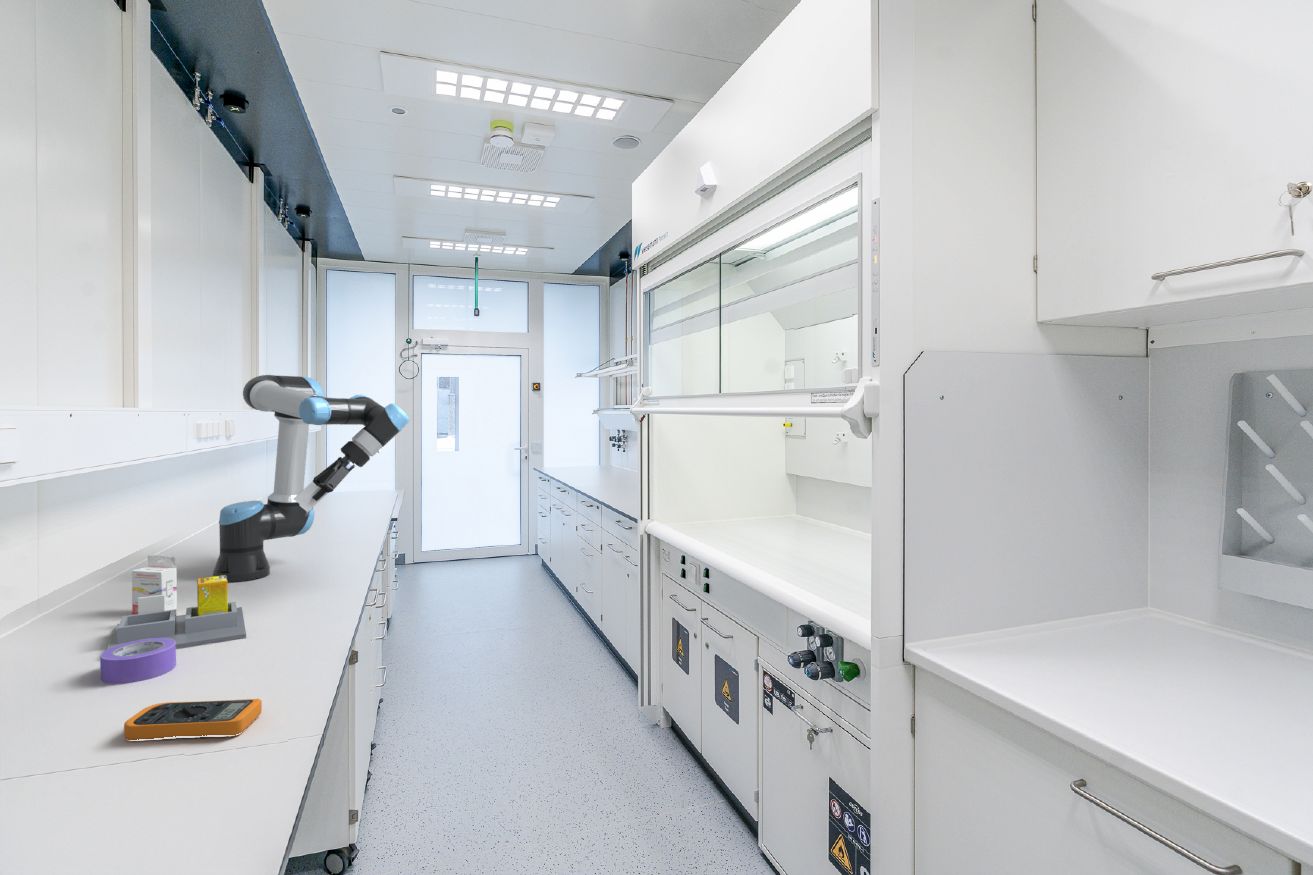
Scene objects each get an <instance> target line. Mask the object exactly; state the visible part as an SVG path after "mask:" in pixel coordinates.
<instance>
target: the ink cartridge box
mask: <svg viewBox="0 0 1313 875" xmlns="http://www.w3.org/2000/svg"><path fill="white" fill-rule="evenodd" d="M160 560H163V561H161V562H160ZM176 560H177V558H176V557H175V556H173V555H172V556H171V555H156V554H155V555H152V554H148V555H147V563H148V564H147V565H148V566H144V567H141V568H136V569H131V576H132V577H131V578H132V581H131V588H132V589H131V591H132V592H131V597H132V598H131V599H132V602H131V603H132V604H131V606H132V607H131V610H132V612H131V615H136V614H138V598H139V597H148V596H156V595H165V611H167V610H174V609H176V612H178V583H177V582H178V580H177V578H178V577H177V576H178V573H177V571H178V568H177V563H176V562H177V561H176Z"/></svg>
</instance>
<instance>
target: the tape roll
mask: <svg viewBox="0 0 1313 875" xmlns="http://www.w3.org/2000/svg"><path fill="white" fill-rule="evenodd" d="M176 651H177V649H176V642H175V640H173V639H169V638H151V639H143V640H137V641H132V642H128V643H124V644H120V645H117V646H114V647H112V648H109V649H105V650H104V651H103V652H101V654H100V655H99V661H100V662H99V664H100V665H99V666H100V681H101V682H102V683H105V684H110V685H120V684H121V685H123V684H132V683H139V682H144V681H148V680H152V679H155V678H158V677H161V676H163V675H166V674H167V673H170V672H172V670H174V669H175V668H176V667H175V666H177V652H176Z"/></svg>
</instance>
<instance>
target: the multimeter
mask: <svg viewBox="0 0 1313 875" xmlns="http://www.w3.org/2000/svg"><path fill="white" fill-rule="evenodd" d="M262 706H263V704H262V699H261V698H246V699H230V700H227V699H226V700H202V701H172V702H171V701H169V702H168V701H167V702H159V703H155V704H152V705H149V706H146V707H144V708H143V709H141V710H140V711H139V712H137V713H136V714H134V715H132V716H131V717H130V718H128V719H127V720H126V721H125V722H124V725H123V728H124V729H123V734H124V738H125V739H126V740H127V739H128V740H137V739H138V740H139V739H154V738H164V737H173V736H175V737H176V736H202V735H203V736H205V735H206V736H207V735H236V734H239V733H241V732H242V733H243V731H244V730H245V729H246V728H247V727H248V726H249V725H250V724H251V723H252V722H253V721H254V720H255V719H256V718H257V717H258V716H259V715H261V714H262V712H263V711H262V710H263V709H262ZM259 717H260V716H259ZM259 717H258V718H259ZM258 718H257V719H258ZM257 719H256V720H257ZM256 720H255V721H256ZM255 721H254V722H255ZM254 722H253V723H254ZM253 723H252V724H253ZM252 724H251V725H252ZM251 725H250V726H251ZM250 726H249V727H250ZM249 727H248V728H249ZM248 728H247V729H248ZM247 729H246V730H247ZM246 730H245V731H246ZM245 731H244V732H245ZM242 733H241V734H242ZM128 740H127V741H128Z"/></svg>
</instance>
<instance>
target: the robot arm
mask: <svg viewBox="0 0 1313 875" xmlns="http://www.w3.org/2000/svg"><path fill="white" fill-rule="evenodd" d="M242 397H243V400H244V402H245V404H246V405H248V406H249V407H250V408H251V409H254V410H256V411H260V412H271V413H272V412H273V413H274V414H273V416H274V417H275V418H276V420H277V421H278V431H277V443H276V444H277V445H276V458H275V469H274V470H275V471H274V481H273V482H274V485H273V492H272V493H270V494H269V495H268V496H267V503H266V504H264V502H263V501H261V500H249V501H246V500H245V501H240V502H236V503H235V502H234V503H231V504H228V505H226V506H224V507H223V508H221V510H220V512H219V521H218V526H219V556H218V558H217V561H216V563H215V566H214V568H213V571H212V572H213V573H212V577H215V576H223V575H226V578H227V581H228V583H234V582H238V583H239V582H245V581H246V580H247V581H253V580H257V579H256V578H258V579H260V578H265V577H267V576H269V575H270V573H271V567H270V563H269V561H268V559H267V556H266V553H265V551H264V541H266V540H267V541H268V540H269V541H270V540H277V539H280V538H288V537H289V538H290V537H291V538H293V537H295V536H299V535H303V534H305V533H307V532H308V531H309V530H310V529H311V527H312V525H313V524H314V519H315V510H314V507H315V506H316V505H317V504H318V503H319V502H320V501H321V500H322V499H323V498H324V497H326V496H327V494H329V493H332V492H334V490H336V488H337V487H338V486H339V485H340V484H341V482H342V481H344V479H345V478H346V477H347V476H348V475H349V473H351V471H352V470H354V469H355V468H356V466H357V467H359V468H363V467H364V466H365V465H366V464H367V463H368V462H369V461H371V460H370V459H371V457H374V456H375V455H376V454H377V453H378V454H380V453H381V452H382V451H381V449H382V448H383V447H385V446H386V445H387V444H388V443H389V442H390V441H391V440H392V439H393V438H395V436H397V435H398V434H399V433H400V432H401V431H402V430H403V428H405V427H406V426H407V424H409V422H410V418H409V416H408V414H407V413H406V412H405V411H404V410H403V409H402V408H401V407H399V405H397V404H395V403H389V404H388V405H386V406H385V407H384V406H383V405H381V404H380V403H378V402H377V401H375V400H374V399H373V398H371V397H368V396H366V395H363V394H355V395H354V396H351V397H350V398H345V397H343V398H340V397H339V398H337V397H327V396H326V397H325V394H324V390H323V388H322V386H321V384H320V382H318V381H317V380H316V379H315V378H313V377H305V376H300V375H299V376H298V375H297V376H295V375H277V374H276V375H275V374H262V375H258V376H255V377H253V378H251V379H250V380H248V381H247V382H246V383H245V385H244V387H243V390H242ZM310 425H315V426H322V425H327V426H328V425H340V426H341V425H347V426H348V425H350V426H351V425H353V426H354V425H355V426H356V425H360V426H363V428H361V429H359V431H358V432H357V433H356V434H355V435H354V436H352V438H351V440H350V441H347V442H346V443H345V444H344V445H343V446H342V447H341V448H340V452H341V453H342V454H343V455H344V456H343V457H342V456H339V457H338V458H337V459H336V460H334V462H332V463H331V464H330V465H329V466H327V467H326V468H325V469H324V470H322V471H321V472H319V474H317V475H316V476H314V477H313V480H312V481H311V482H310V483H309V484H307V486H306V487H305V475H306V465H307V464H306V463H307V454H308V453H307V452H308V451H307V449H308V441H309V430H310V428H309V427H310ZM252 579H253V580H252ZM247 581H246V582H247Z"/></svg>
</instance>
